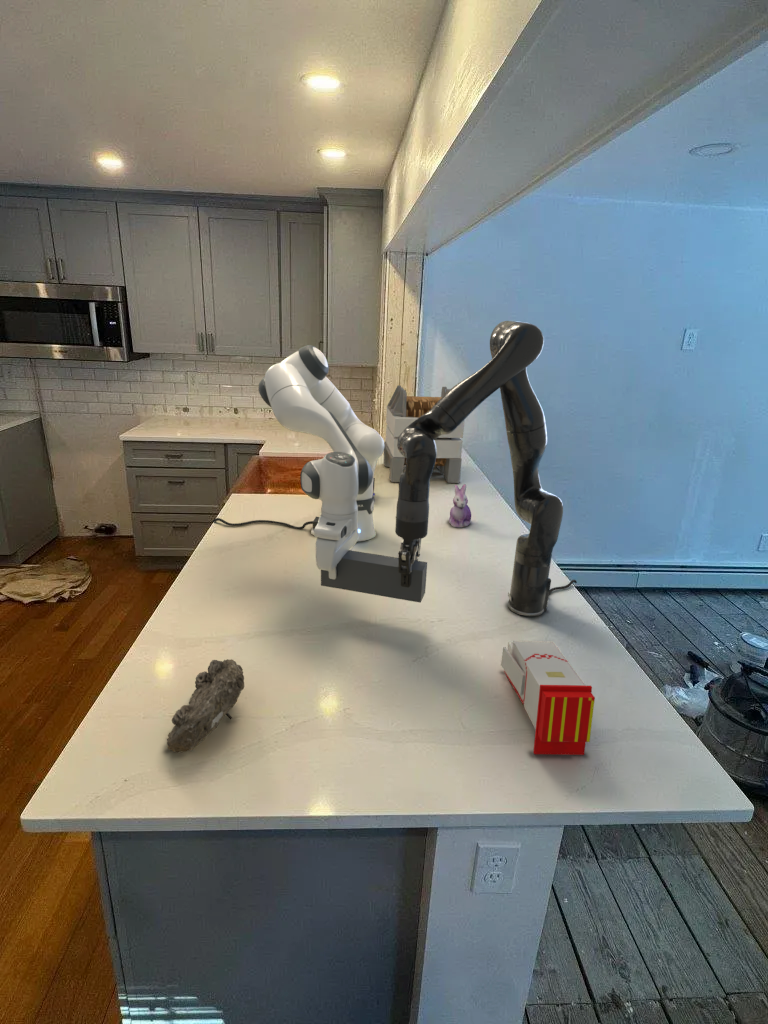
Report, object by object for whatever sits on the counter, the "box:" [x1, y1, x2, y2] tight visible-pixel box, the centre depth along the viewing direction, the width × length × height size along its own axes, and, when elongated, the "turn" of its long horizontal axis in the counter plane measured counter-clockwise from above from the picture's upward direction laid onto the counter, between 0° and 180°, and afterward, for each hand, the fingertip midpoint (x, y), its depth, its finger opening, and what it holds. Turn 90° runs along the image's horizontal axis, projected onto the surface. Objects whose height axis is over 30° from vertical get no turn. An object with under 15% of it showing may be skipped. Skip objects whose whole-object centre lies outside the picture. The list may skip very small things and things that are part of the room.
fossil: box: [166, 658, 245, 754], centre depth 106 cm, size 22×10×15 cm
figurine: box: [448, 483, 472, 528], centre depth 209 cm, size 9×10×15 cm
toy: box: [500, 640, 596, 756], centre depth 114 cm, size 12×13×30 cm
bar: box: [320, 549, 428, 603], centre depth 139 cm, size 26×5×8 cm, turn 74°
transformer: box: [383, 384, 466, 484], centre depth 268 cm, size 34×33×41 cm
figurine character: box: [373, 477, 376, 497], centre depth 233 cm, size 7×8×15 cm
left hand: (338, 571), depth 142 cm, fingers open, 6 cm apart
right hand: (408, 580), depth 137 cm, fingers closed on bar, 5 cm apart
